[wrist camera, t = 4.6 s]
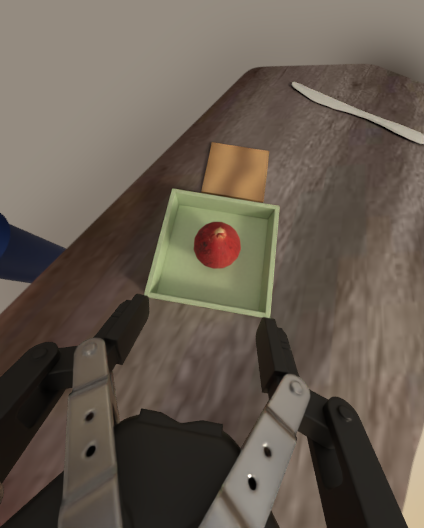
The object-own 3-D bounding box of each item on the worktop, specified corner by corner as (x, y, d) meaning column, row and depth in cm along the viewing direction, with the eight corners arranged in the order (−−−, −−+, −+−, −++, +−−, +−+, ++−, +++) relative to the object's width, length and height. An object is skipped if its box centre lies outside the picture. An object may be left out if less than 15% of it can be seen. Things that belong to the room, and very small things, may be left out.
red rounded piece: (204, 280, 25) (203, 267, 17) (189, 244, 26) (182, 216, 18) (242, 265, 26) (257, 245, 18) (225, 230, 27) (233, 198, 19)
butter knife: (427, 147, 31) (432, 135, 32) (288, 88, 35) (294, 78, 35) (423, 150, 32) (428, 138, 32) (286, 92, 35) (293, 82, 36)
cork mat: (201, 192, 29) (201, 191, 28) (211, 144, 31) (211, 142, 31) (262, 202, 29) (263, 201, 28) (268, 153, 31) (269, 151, 31)
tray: (151, 298, 24) (143, 296, 21) (176, 202, 28) (172, 188, 25) (261, 317, 24) (270, 318, 21) (271, 217, 28) (279, 205, 25)
